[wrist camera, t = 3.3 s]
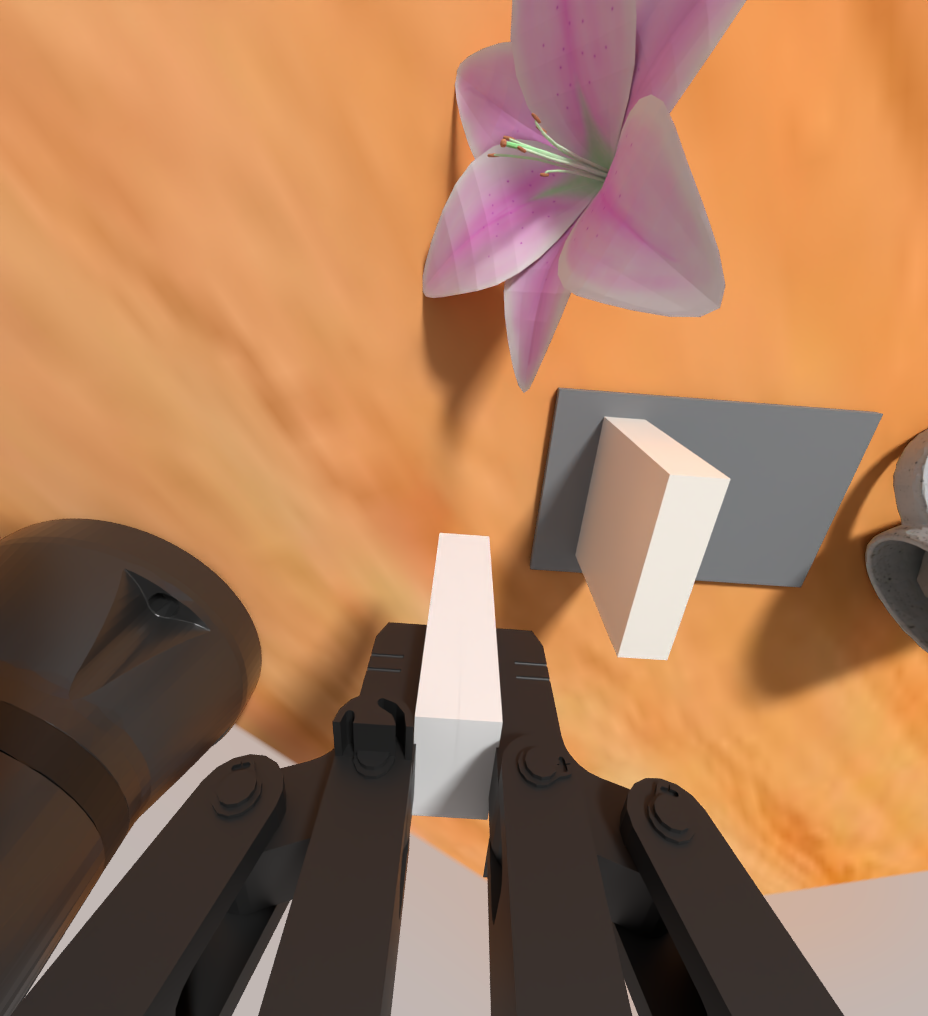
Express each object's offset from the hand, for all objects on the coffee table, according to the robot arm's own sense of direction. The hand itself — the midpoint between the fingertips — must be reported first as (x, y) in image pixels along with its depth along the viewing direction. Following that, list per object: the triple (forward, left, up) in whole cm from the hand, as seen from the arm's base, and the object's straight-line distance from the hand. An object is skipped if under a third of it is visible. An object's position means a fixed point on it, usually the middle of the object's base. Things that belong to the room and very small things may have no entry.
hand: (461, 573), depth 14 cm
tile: (+7, 0, -8) cm, 10 cm away
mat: (+11, 0, -8) cm, 13 cm away
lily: (+2, +12, -8) cm, 14 cm away
